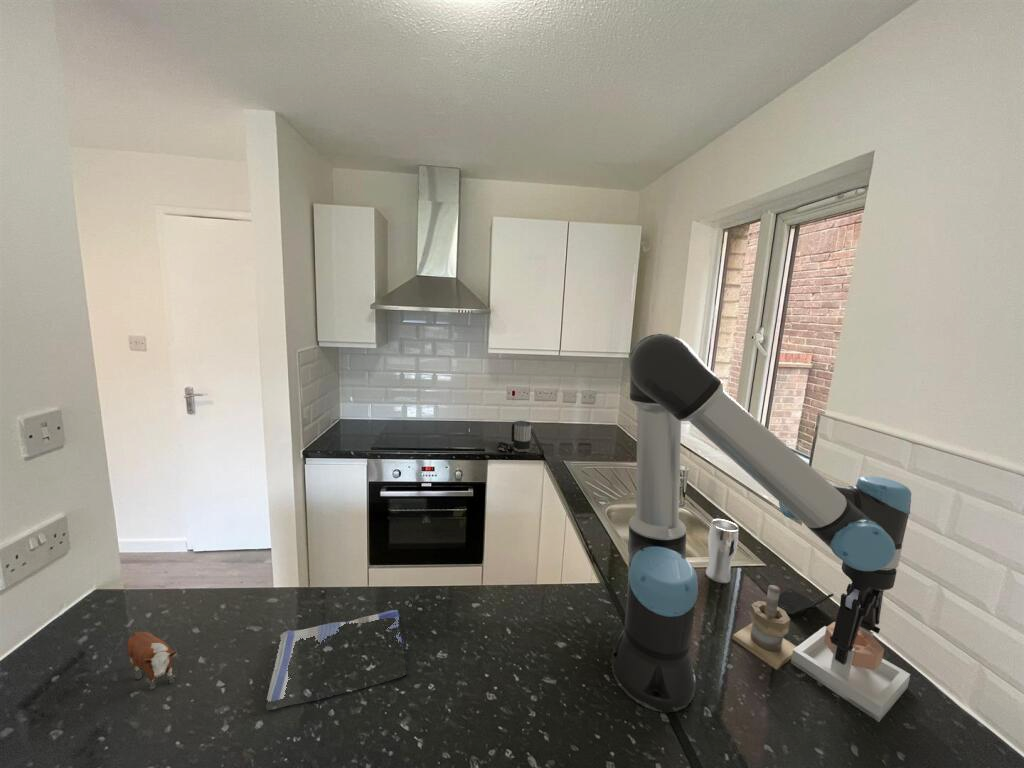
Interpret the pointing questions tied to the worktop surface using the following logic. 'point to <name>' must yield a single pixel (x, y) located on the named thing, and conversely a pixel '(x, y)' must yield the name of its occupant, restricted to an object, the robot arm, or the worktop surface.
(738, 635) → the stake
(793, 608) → the handheld gaming console
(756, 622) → the oak ring
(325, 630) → the dish towel
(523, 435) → the milk frother
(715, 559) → the silver metal tumbler
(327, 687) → the worktop surface
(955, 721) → the worktop surface
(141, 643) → the bull figurine
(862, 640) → the terracotta ring
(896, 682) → the tray
